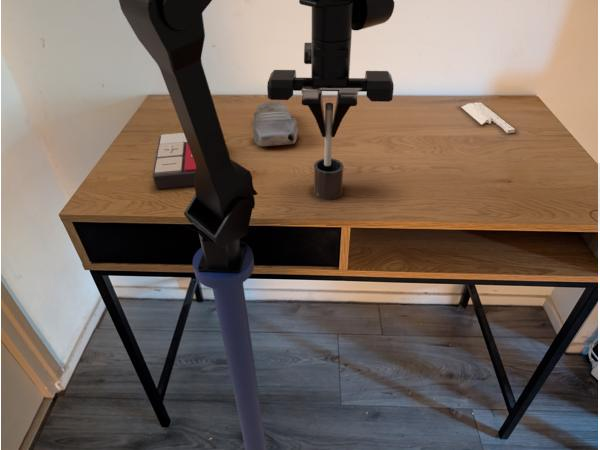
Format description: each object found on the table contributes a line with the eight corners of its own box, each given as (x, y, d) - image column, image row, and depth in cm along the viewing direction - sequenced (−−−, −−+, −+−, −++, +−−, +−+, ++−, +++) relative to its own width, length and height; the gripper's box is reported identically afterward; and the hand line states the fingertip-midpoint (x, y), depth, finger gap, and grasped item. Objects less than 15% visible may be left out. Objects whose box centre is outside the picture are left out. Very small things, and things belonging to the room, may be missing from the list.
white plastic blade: (492, 135, 94) (494, 130, 94) (461, 107, 106) (462, 103, 105) (514, 132, 95) (515, 128, 94) (480, 105, 106) (481, 101, 106)
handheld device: (289, 109, 107) (289, 91, 104) (300, 149, 91) (300, 129, 88) (250, 112, 106) (248, 94, 103) (255, 152, 90) (253, 132, 87)
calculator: (151, 173, 77) (158, 131, 88) (156, 192, 80) (163, 149, 91) (213, 167, 78) (212, 127, 89) (216, 186, 81) (215, 145, 92)
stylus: (331, 166, 74) (333, 105, 68) (323, 166, 74) (325, 105, 68) (331, 162, 75) (333, 102, 69) (324, 162, 75) (325, 102, 69)
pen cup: (342, 200, 76) (343, 173, 73) (313, 199, 76) (313, 172, 73) (342, 184, 80) (343, 158, 77) (314, 183, 80) (314, 157, 77)
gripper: (392, 22, 67) (381, 116, 77) (273, 22, 69) (277, 114, 78) (399, 43, 59) (386, 146, 68) (263, 42, 60) (270, 143, 70)
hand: (328, 136), depth 71 cm, fingers closed on stylus, 1 cm apart
